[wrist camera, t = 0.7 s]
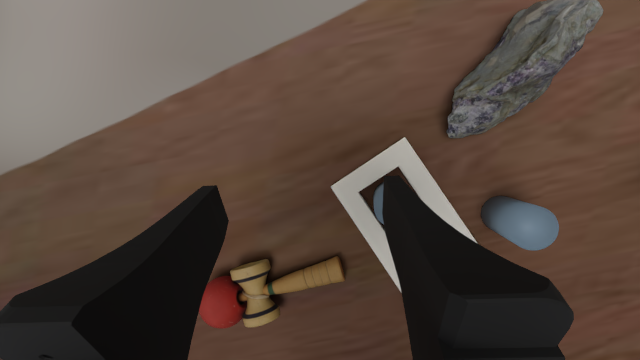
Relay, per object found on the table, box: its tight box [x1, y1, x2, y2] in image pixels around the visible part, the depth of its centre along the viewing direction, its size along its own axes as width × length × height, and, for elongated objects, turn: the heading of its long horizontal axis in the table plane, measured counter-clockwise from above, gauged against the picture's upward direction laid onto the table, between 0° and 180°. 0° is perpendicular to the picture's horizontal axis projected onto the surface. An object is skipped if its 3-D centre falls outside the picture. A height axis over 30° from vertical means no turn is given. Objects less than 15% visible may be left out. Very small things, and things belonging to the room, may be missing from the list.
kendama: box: [199, 256, 345, 328], centre depth 37 cm, size 8×6×18 cm
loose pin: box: [481, 196, 559, 250], centre depth 30 cm, size 4×4×7 cm
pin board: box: [331, 137, 477, 293], centre depth 34 cm, size 22×10×2 cm, turn 35°
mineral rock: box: [447, 0, 603, 138], centre depth 28 cm, size 13×11×10 cm
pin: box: [373, 182, 384, 224], centre depth 32 cm, size 4×4×7 cm
